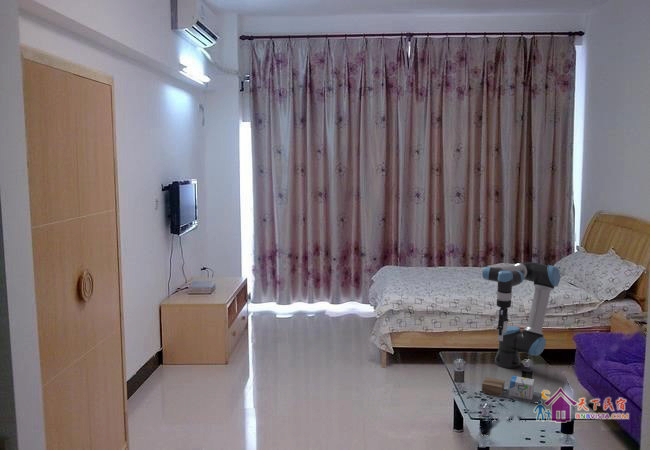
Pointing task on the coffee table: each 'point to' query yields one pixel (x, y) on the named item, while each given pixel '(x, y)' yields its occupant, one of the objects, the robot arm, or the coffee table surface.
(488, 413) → the coffee table surface
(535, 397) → the mat
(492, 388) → the walnut step
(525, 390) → the ink box
